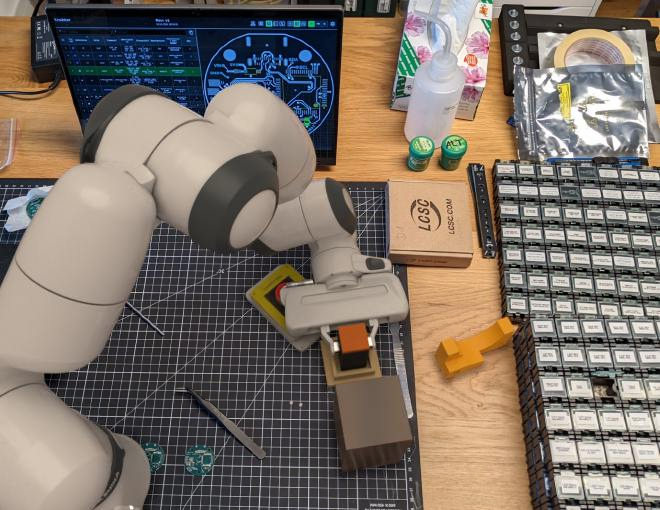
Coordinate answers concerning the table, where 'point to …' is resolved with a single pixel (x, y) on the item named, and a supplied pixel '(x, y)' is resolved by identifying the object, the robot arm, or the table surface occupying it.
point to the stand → (371, 423)
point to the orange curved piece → (472, 348)
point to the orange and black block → (353, 346)
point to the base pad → (338, 376)
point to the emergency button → (278, 303)
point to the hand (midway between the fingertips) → (353, 352)
